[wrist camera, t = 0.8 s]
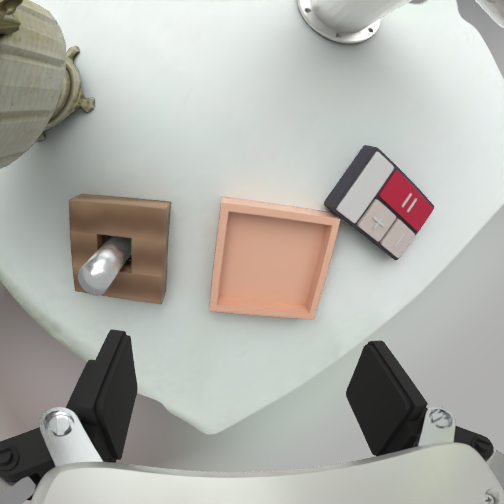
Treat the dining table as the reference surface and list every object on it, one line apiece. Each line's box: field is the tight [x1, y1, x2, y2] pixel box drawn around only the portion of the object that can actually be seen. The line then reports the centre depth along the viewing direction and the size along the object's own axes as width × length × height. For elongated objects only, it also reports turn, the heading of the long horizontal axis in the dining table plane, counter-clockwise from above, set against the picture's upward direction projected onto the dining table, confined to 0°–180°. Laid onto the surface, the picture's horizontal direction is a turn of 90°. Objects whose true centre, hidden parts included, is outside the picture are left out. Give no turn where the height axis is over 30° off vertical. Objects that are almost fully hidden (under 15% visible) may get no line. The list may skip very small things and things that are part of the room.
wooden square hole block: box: [69, 194, 171, 304], centre depth 41 cm, size 14×14×4 cm
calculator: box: [324, 145, 434, 260], centre depth 42 cm, size 11×4×15 cm
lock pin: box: [78, 236, 132, 295], centre depth 37 cm, size 4×4×12 cm
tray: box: [209, 197, 341, 319], centre depth 44 cm, size 16×16×4 cm
